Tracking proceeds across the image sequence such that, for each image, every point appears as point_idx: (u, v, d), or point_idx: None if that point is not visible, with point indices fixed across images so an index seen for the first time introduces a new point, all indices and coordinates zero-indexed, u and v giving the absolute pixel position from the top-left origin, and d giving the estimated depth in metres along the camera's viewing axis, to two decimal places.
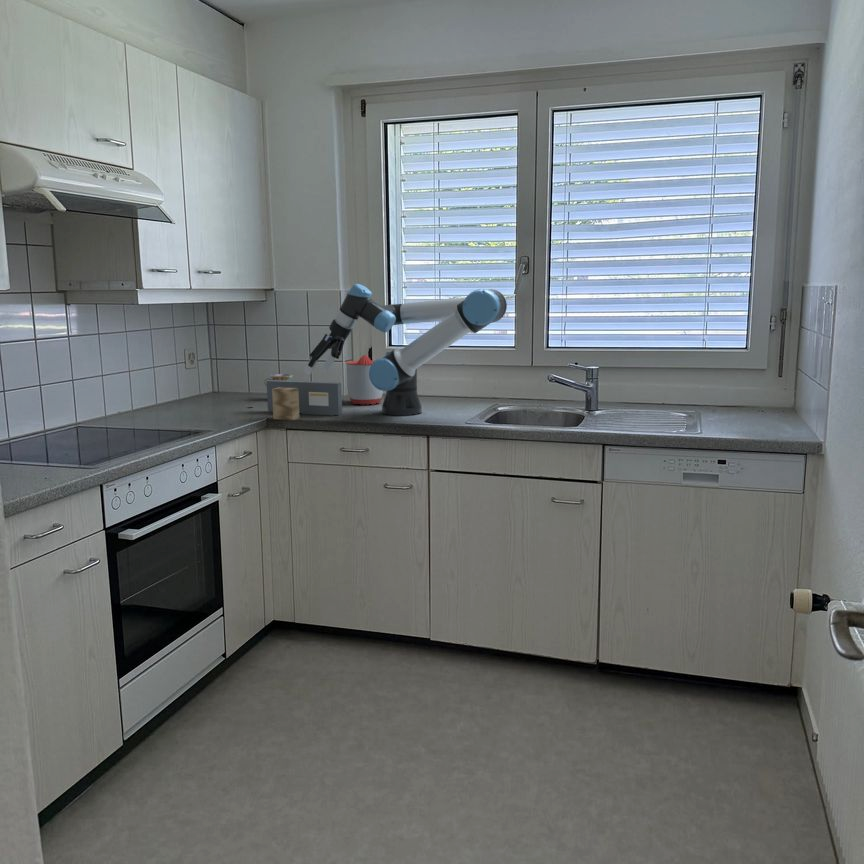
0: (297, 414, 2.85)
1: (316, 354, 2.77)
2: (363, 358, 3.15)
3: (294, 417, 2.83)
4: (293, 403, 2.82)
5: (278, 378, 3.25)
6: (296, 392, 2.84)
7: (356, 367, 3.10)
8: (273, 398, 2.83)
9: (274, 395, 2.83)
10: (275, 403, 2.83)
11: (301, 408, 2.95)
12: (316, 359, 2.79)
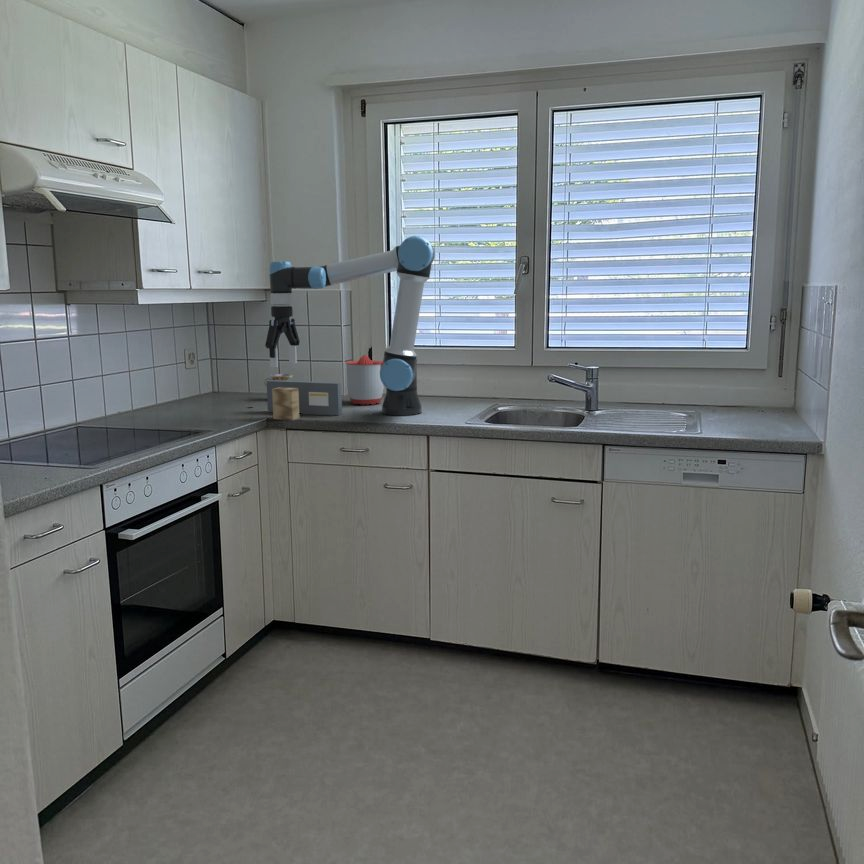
0: (297, 414, 2.85)
1: (270, 341, 2.71)
2: (363, 358, 3.15)
3: (294, 417, 2.83)
4: (293, 403, 2.82)
5: (278, 378, 3.25)
6: (296, 392, 2.83)
7: (356, 367, 3.10)
8: (273, 398, 2.83)
9: (274, 395, 2.83)
10: (275, 403, 2.83)
11: (301, 408, 2.95)
12: (274, 347, 2.72)
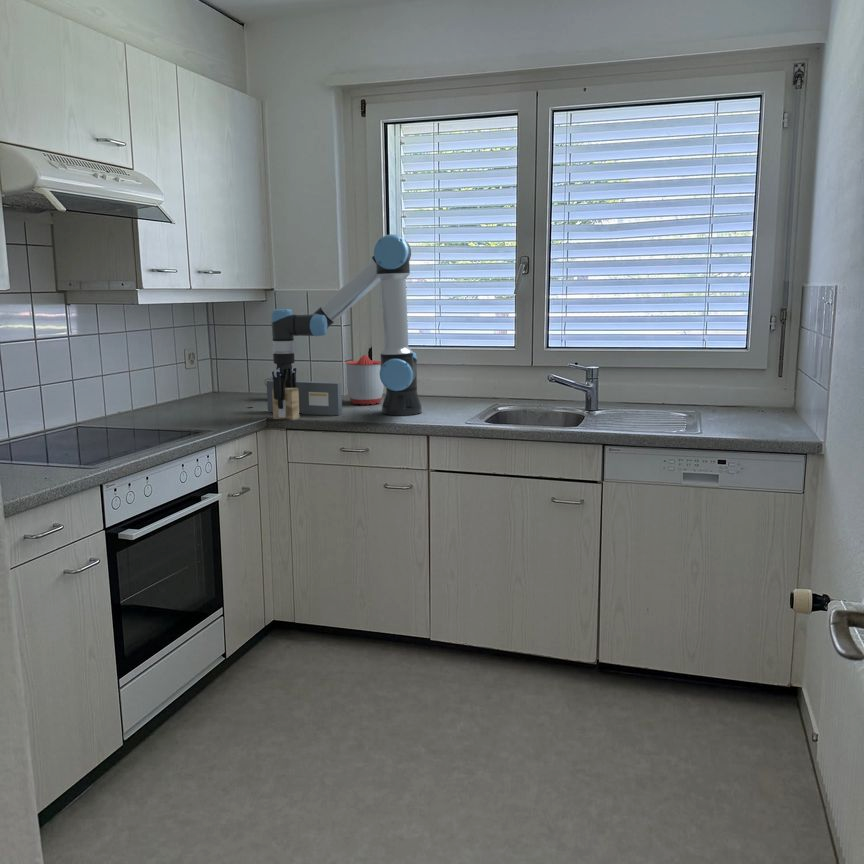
0: (297, 414, 2.85)
1: (278, 394, 2.78)
2: (363, 358, 3.15)
3: (294, 417, 2.83)
4: (293, 403, 2.82)
5: None
6: (296, 392, 2.84)
7: (356, 367, 3.10)
8: (273, 398, 2.83)
9: None
10: (275, 403, 2.83)
11: (301, 408, 2.95)
12: (282, 399, 2.80)
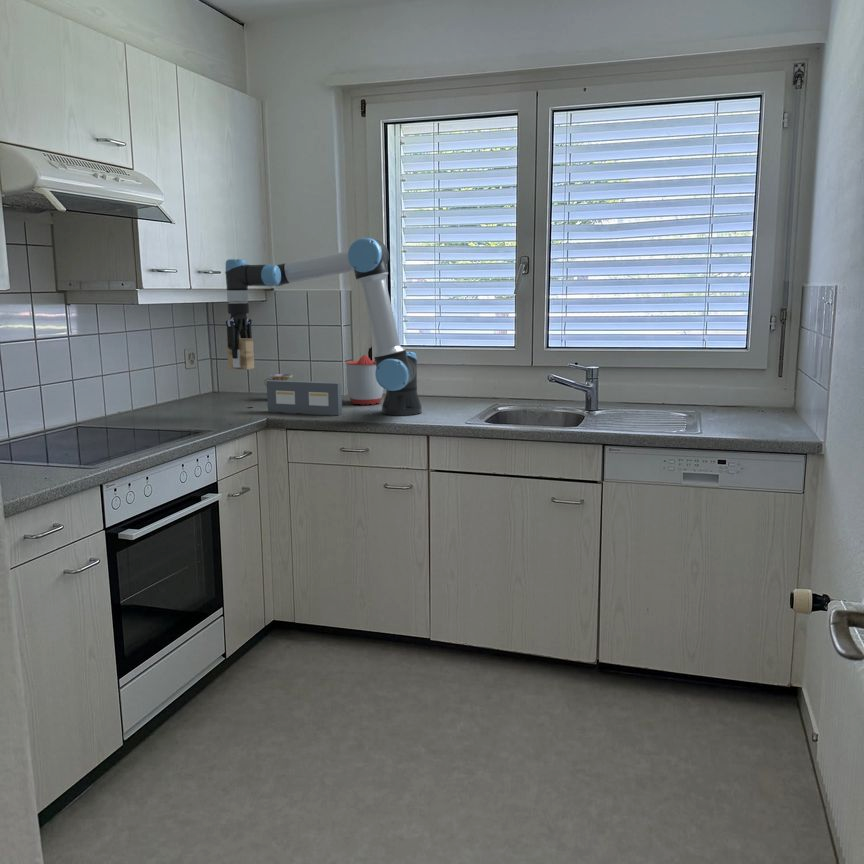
0: (252, 364, 2.88)
1: (232, 343, 2.80)
2: (363, 358, 3.15)
3: (248, 367, 2.86)
4: (247, 353, 2.84)
5: (278, 378, 3.25)
6: (251, 342, 2.86)
7: (356, 367, 3.10)
8: (228, 348, 2.85)
9: None
10: (230, 353, 2.86)
11: (301, 408, 2.95)
12: (236, 348, 2.82)
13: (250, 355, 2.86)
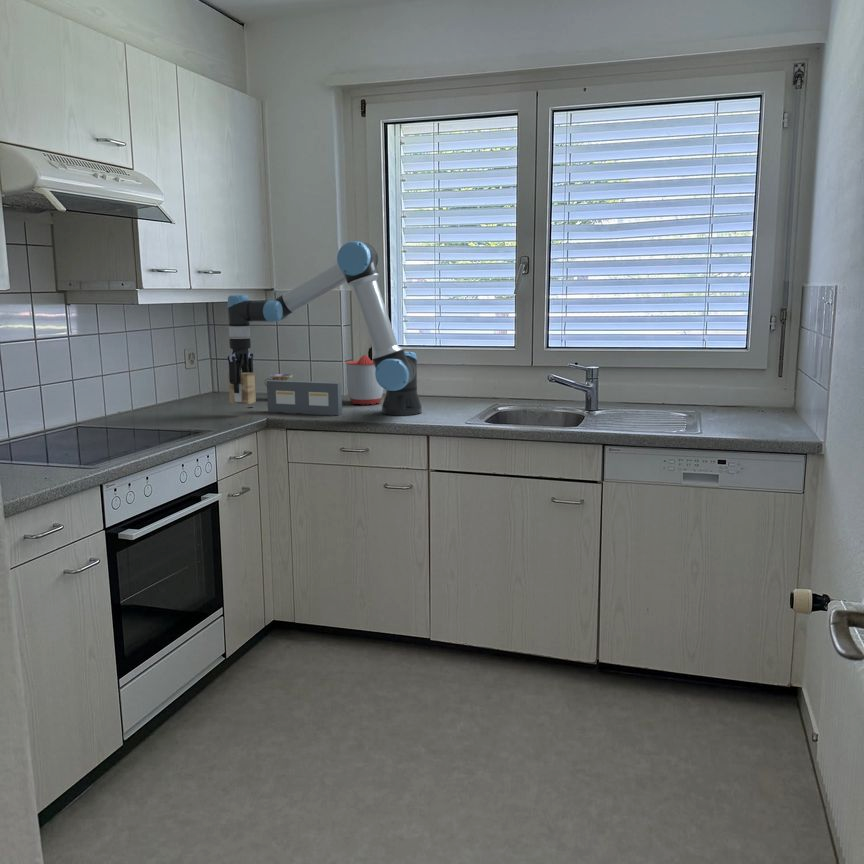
0: (253, 398, 2.90)
1: (234, 378, 2.83)
2: (363, 358, 3.15)
3: (250, 401, 2.88)
4: (249, 387, 2.87)
5: (278, 378, 3.25)
6: (252, 377, 2.88)
7: (356, 367, 3.10)
8: (229, 382, 2.88)
9: None
10: (231, 388, 2.88)
11: (301, 408, 2.95)
12: (238, 383, 2.85)
13: (251, 389, 2.88)
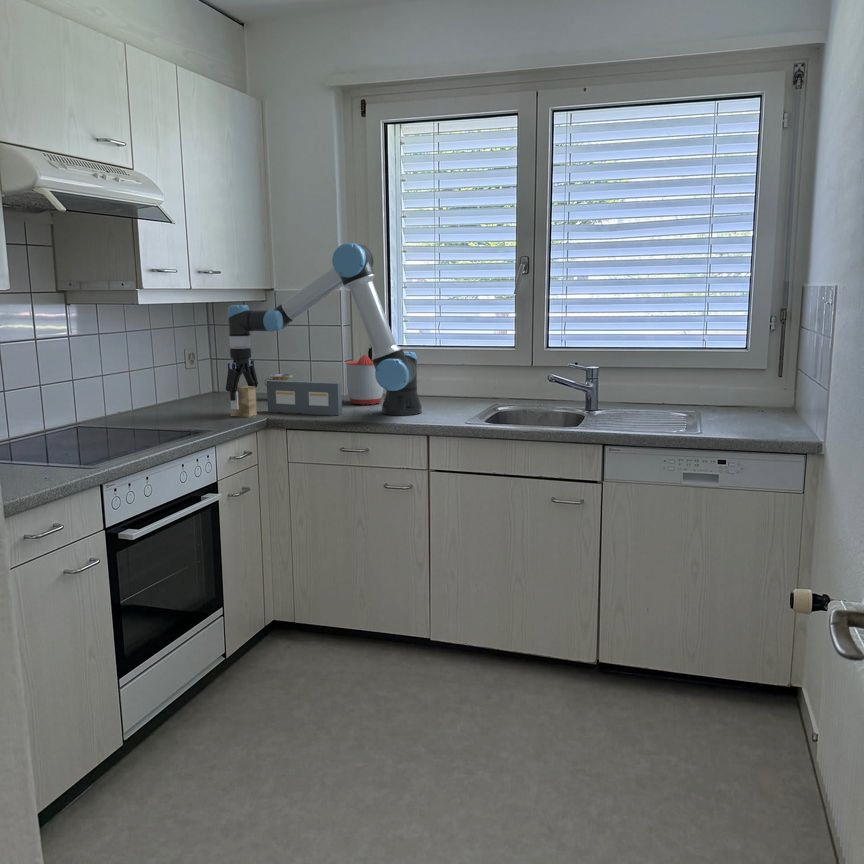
0: (254, 412, 2.91)
1: (230, 385, 2.81)
2: (363, 358, 3.15)
3: (251, 415, 2.89)
4: (250, 401, 2.88)
5: (278, 378, 3.25)
6: (253, 390, 2.89)
7: (356, 367, 3.10)
8: None
9: None
10: None
11: (301, 408, 2.95)
12: (234, 390, 2.82)
13: (252, 403, 2.89)
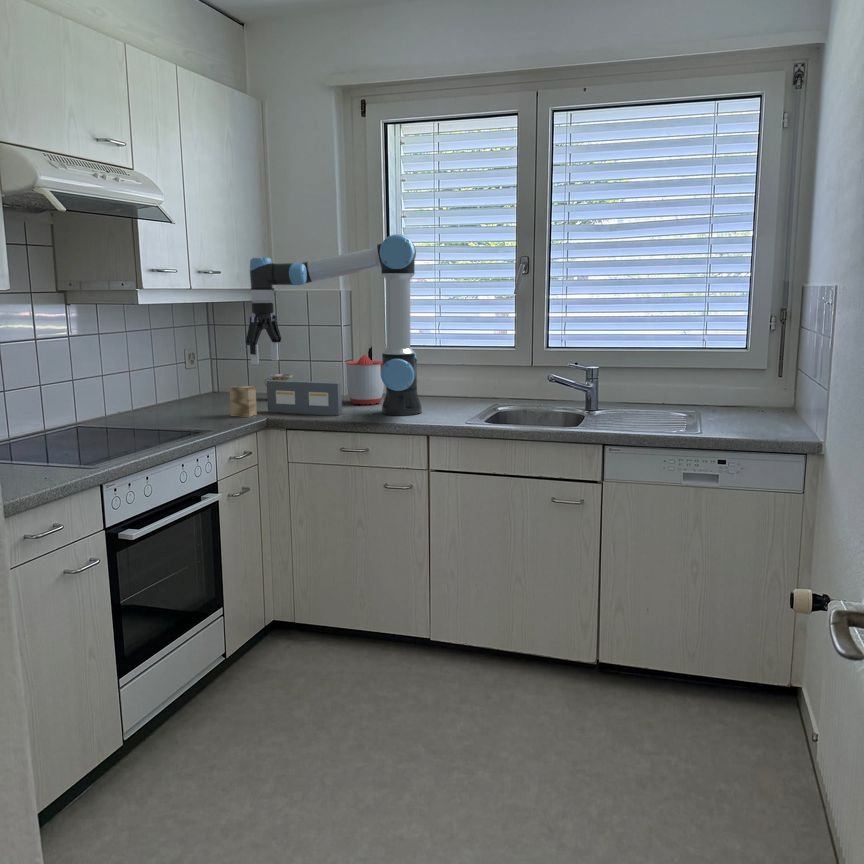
0: (254, 412, 2.91)
1: (251, 338, 2.70)
2: (363, 358, 3.15)
3: (251, 415, 2.89)
4: (250, 401, 2.88)
5: (278, 378, 3.25)
6: (253, 390, 2.89)
7: (356, 367, 3.10)
8: (230, 396, 2.89)
9: (231, 393, 2.88)
10: (232, 401, 2.89)
11: (301, 408, 2.95)
12: (254, 343, 2.71)
13: (252, 403, 2.89)
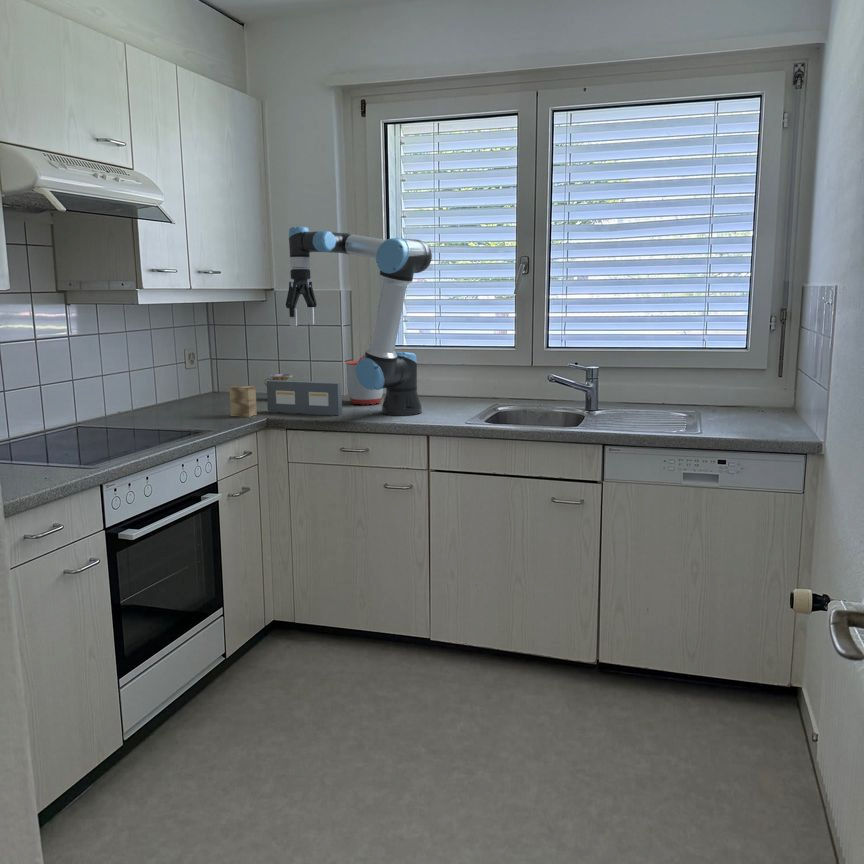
0: (254, 412, 2.91)
1: (290, 301, 2.90)
2: None
3: (251, 415, 2.89)
4: (250, 401, 2.88)
5: (278, 378, 3.25)
6: (253, 390, 2.89)
7: None
8: (230, 396, 2.89)
9: (231, 393, 2.88)
10: (232, 401, 2.89)
11: (301, 408, 2.95)
12: (293, 306, 2.92)
13: (252, 403, 2.89)
